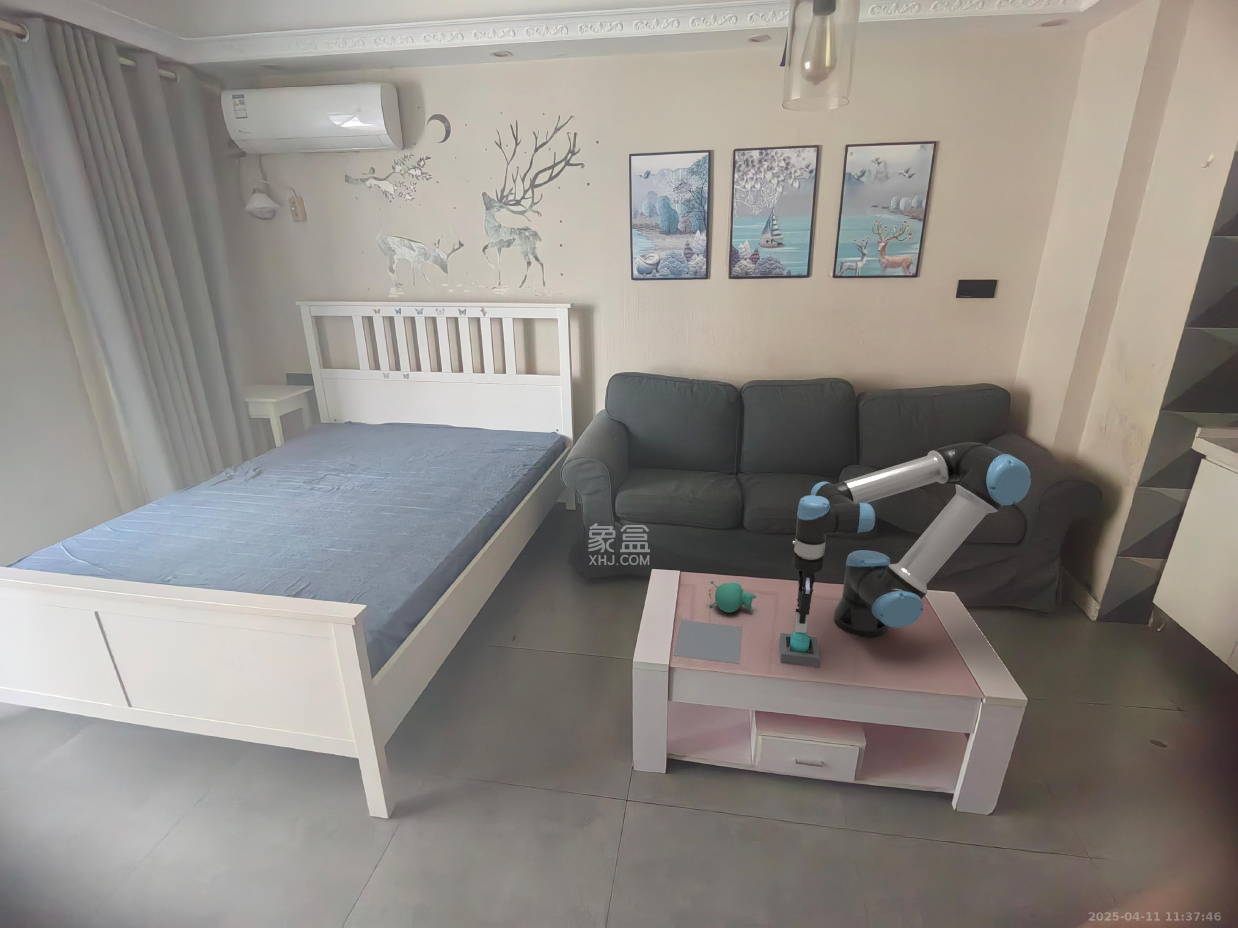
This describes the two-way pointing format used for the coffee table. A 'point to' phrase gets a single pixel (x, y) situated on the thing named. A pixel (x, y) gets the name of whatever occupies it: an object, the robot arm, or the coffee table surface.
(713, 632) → the mat
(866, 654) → the coffee table surface
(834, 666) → the coffee table surface
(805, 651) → the dome
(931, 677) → the coffee table surface
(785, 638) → the dome housing
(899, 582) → the robot arm
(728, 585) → the toy
